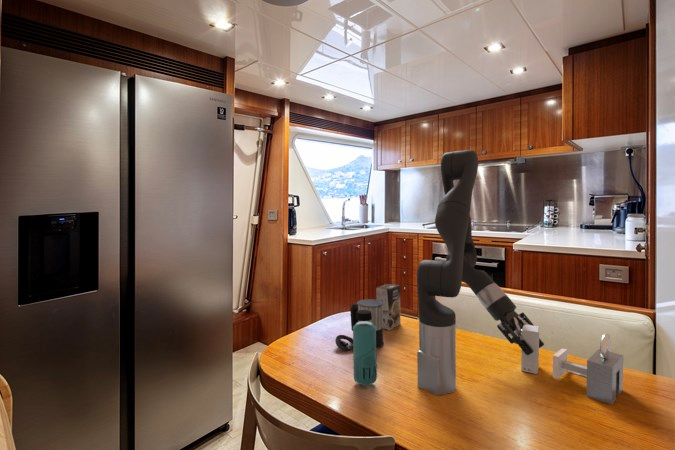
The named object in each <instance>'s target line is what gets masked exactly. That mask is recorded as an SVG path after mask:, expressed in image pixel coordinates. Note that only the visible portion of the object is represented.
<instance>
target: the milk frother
mask: <svg viewBox="0 0 675 450" xmlns="http://www.w3.org/2000/svg"><path fill="white" fill-rule="evenodd" d="M383 304H384V302H382V301H380V300H376V299H373V298H364V299H360V300H358V301H357V302H355V303H352V304H351V307H350V308H349V309H350V326H351V331H352V332H353V326H354V325H355V324H356V323H358V322H361V321H359V320H357V319H356V316H357V311H359V310H369V311H371V316H372V319H371V320H369V321H367V322H371V323H372V324H373V325H374V326H375V327H376V341H377V344H376V345H377V346H376V349H379V348H382V347H383V346H384V345H385V343H384V329H383ZM344 340H346V341H348V342H346V341H344ZM334 341H335V344H336V347H338V349H340V350H341V351H346V352H349V351H350V352H351V351H353V337H350V336H348V335H345V334H338V335H337V336H336V338H335V340H334ZM349 343H350V344H351V346H349Z"/></svg>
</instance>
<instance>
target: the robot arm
mask: <svg viewBox="0 0 675 450" xmlns="http://www.w3.org/2000/svg"><path fill="white" fill-rule="evenodd" d="M478 168H479V158H478V154H477V152H476V151H474V150H472V149H463V150H456V151H450V152H444V153H443V154H442V156H441V159H440V175H441V180H442V186H443V192H444V196H443V197H441V199H440V201H439V202H438V204H437V208H436V214H435V219H434V225H435V228H436V230H437V233H438V235H439V236H440V237H441V239H442V241H443V242H444V244H445V245H446V248H447V250H448V254H447V256H446V257H445V258H446V259H445V260H437V259H436V260H435V259H434V260H432V259H422V260H421V261H420V262H419V264H418V266H417V271H416V285H417V286H416V289H417V300H418V301H417V302H418V303H417V306H418V307H417V308H418V309H417V310H418V324H419V325H418V329H419V330H418V334H419V335H418V339H419V341H418V346H419V350H418V351H417V352H416V353H417V355H416V356H417V358H416V359H417V362H416V363H417V372H416V373H417V387H418V388H419V389H423V390H425V391H427V392H429V393H431V394H433V395H435V396H439V395H446V394H451V393H452V392H454V391H455V390H456V388H457V382H456V381H457V380H456V379H457V377H456V376H457V372H456V371H457V357H456V355H457V354H456V353H457V350H456V347H457V346H456V345H457V344H456V343H457V342H456V338H457V337H456V336H457V335H456V332H457V331H456V330H457V329H456V328H457V327H456V325H457V321H456V319H457V318H456V316H457V315H456V312H455V311H454V310H453V309H451V308H450V307H448V306H447V305H444V304H443V303H441V302H439V301H438V300H437V299H436V298H435V297H440V298H441V297H443V298H456V297H458V296H459V294H460V291H461V288H462V282H463V283H465V284H466V285H467V286H468V287H469V288H470V290H471V291H472V292H473V294H475V297H477V299H478V301H479V302H480V304H482V306H483V308H485V310H486V311H487V312H488V314H489V315H490V316H491V317H492V318H493V320H494V321H496V322H499V321H500V323H498V324H497V325H496V327H497V329H498V330H499V331H500V332H501V333H502V335H503V336H504V338H506V339H507V340H508V342H509V343H510V344H515V345H517V346H519V348H520V349H521V351H522V350H523V351H524V353H525V354H526V355H530V354H531V353H533V349H532V348H531V347H530V346H529V345H528V343H527V342H526V341H525V340H523V337H522V328H523V325H524V324H525V325H533V326H535V324H533V322H532V321H531V320H530V318H528V316H527V315H526V314H525V312H523V311H522V312H521V313H519V314H518V313H517V312H516V311H515V310H516V309H517V305H516V304H515V303H514V302H513V300H512V299H511V298H510V297H509V296H508V294H507V293H506V292H505V291H504V290H503V289H502V288H501V287H500V286H499V285H498V284H497V283H496V282H495V281H494V280H493V279H492V278H491V277H490V275H489V274H488V273H487V272H486V271H485V270H481V269H477V268H475V266H476V265H477V261H478V254H477V249H476V246H475V243H474V240H473V237H472V236H473V235H472V234H473V233H472V217H471V206H472V197H473V196H472V195H473V190H474V186H475V182H476V178H477V175H478ZM457 180H458V182H457V183H456V184H455V185H454V181H457ZM543 346H545V343H544V342H543V340H542V339H541V338H540V337H539V349H540V348H541V347H543Z"/></svg>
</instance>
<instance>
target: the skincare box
mask: <svg viewBox="0 0 675 450" xmlns="http://www.w3.org/2000/svg"><path fill="white" fill-rule="evenodd" d="M533 325H534V324H533ZM533 325H525V324H524V325H523V328H522V333H521V335H522V337H523V340H525V341H526V342H527V343H528V345H529V346H530V347H531V348H532V349H533V353H531V354H530V355H526V354H525V353H524V351H523V350H522V349H521V364H520V366H521V367H520V369H521V372H525V373H531V374H536V375H538V374H539V367H540V366H539V365H540V363H539V362H540V361H539V360H540V359H539V358H540V348H539V338H540V326H538V325H534V326H533Z"/></svg>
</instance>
